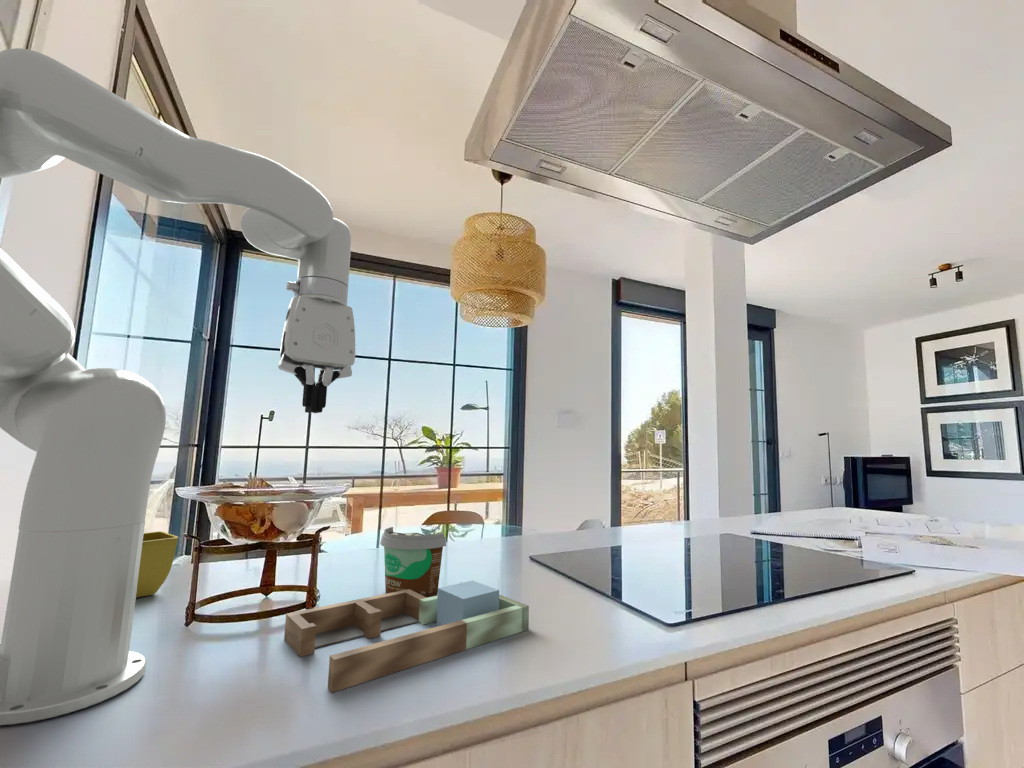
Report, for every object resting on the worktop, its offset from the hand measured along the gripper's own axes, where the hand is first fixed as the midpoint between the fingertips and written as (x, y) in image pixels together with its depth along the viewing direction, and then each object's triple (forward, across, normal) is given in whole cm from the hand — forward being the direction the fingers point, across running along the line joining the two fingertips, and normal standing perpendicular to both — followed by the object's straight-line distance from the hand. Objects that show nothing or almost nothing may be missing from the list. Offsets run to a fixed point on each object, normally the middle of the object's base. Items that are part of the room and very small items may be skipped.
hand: (313, 412), depth 71 cm
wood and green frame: (+29, +9, -16) cm, 35 cm away
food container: (+29, +16, -1) cm, 33 cm away
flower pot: (+29, -18, +25) cm, 43 cm away
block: (+29, +16, -19) cm, 38 cm away
